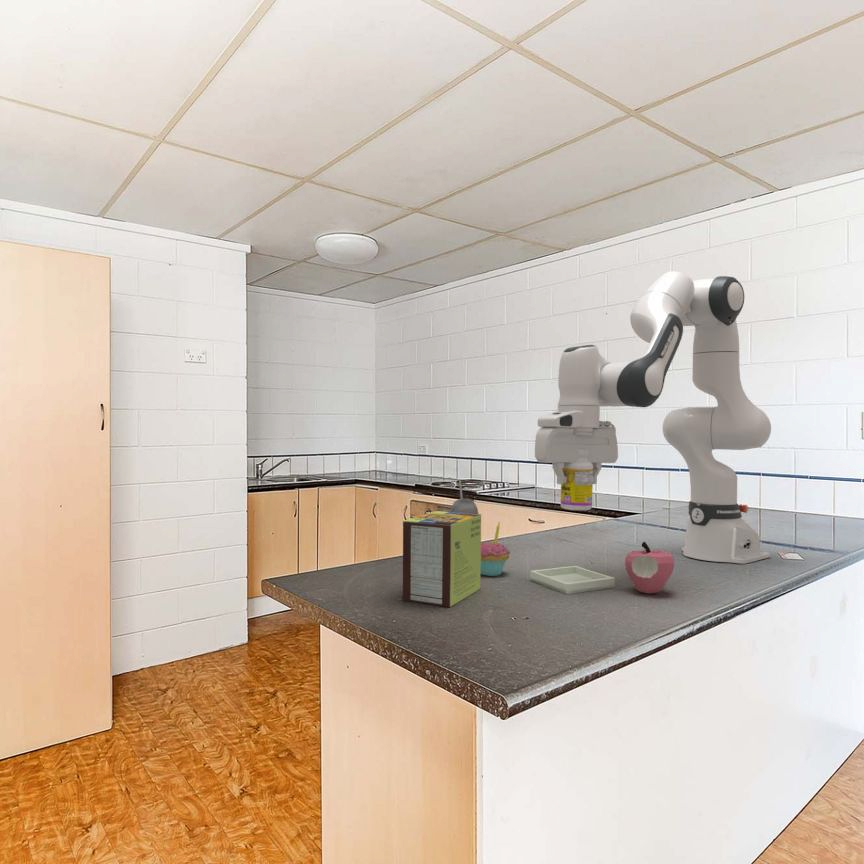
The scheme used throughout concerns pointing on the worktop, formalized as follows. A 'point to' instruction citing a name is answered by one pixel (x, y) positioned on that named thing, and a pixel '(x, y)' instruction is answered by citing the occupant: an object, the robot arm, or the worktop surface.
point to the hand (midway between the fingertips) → (576, 484)
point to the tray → (572, 579)
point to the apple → (649, 569)
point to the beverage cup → (464, 504)
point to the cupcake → (493, 557)
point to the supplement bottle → (578, 484)
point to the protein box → (441, 557)
